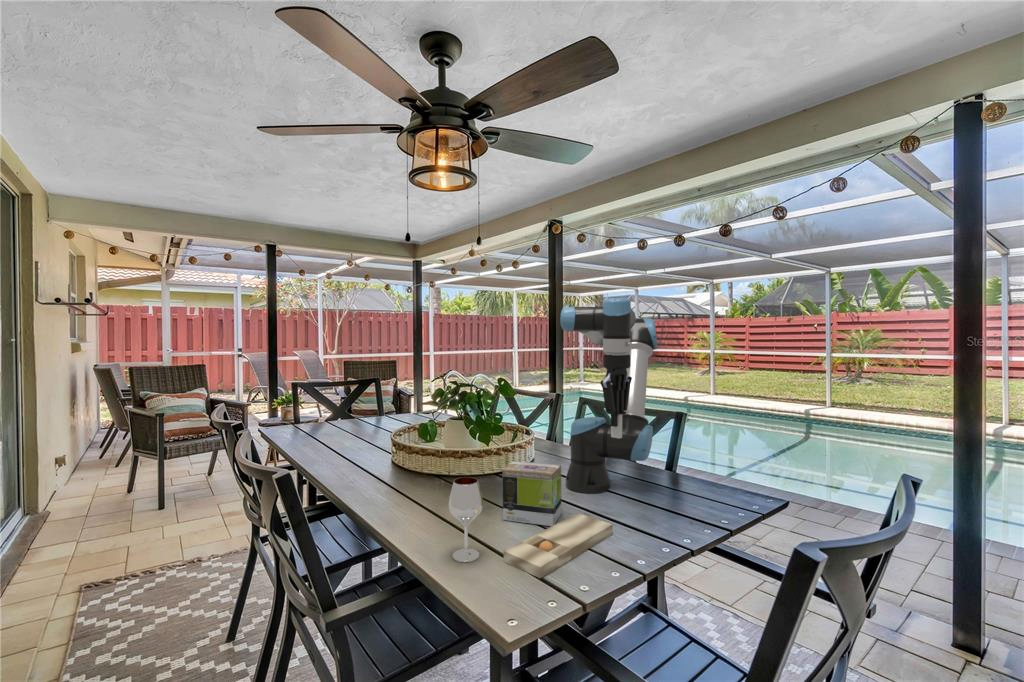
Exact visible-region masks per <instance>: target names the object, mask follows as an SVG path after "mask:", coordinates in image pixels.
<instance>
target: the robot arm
mask: <svg viewBox="0 0 1024 682" xmlns="http://www.w3.org/2000/svg"><path fill="white" fill-rule="evenodd" d="M602 305H603V306H602ZM602 305H601V306H573V305H572V306H566V307H565V306H564V307H563V308H562V310H561V312H560V319H559V322H560V327H561V329H562V330H563V331H565V332H578V333H580V334H582V335H584V336H585V337H587V338H588V340H589V341H590V342H591V343H593V344H595V345H598V346H601V347H602V352H603V355H602V366H603V368H605V369H606V373H605V379H602V380H600V386H601V388H602V393H603V395H602V396H603V400H604V401H603V402H604V408H605V413H606V414H607V415H610V422H607V420H606V418H605V417H603V416H602V417H600V416H587V417H581V418H578V419H575V420H573V422H572V423H571V425H570V433H569V434H570V435H569V436H570V464H569V467H568V470H567V474H566V476H565V487H566V488H567V489H569V490H571V491H573V492H577V493H581V494H600V493H604V492H607V491H609V490H610V489H611V478H610V476H609V472H608V469H607V465H606V459H613V460H615V459H616V460H625V461H631V462H644V461H646V460H647V459H648V457H649V456H650V454H651V453H650V452H651V449H652V443H653V434H654V428H653V426H652V425H650V422H649V420H648V419H647V417H646V416H645V413H646V399H647V384H648V383H647V382H648V381H647V380H648V368H649V367H648V365H649V358H650V357H651V356H653V354H654V351H655V350H657V349H658V341H657V332H656V331H657V330H656V328H657V327H656V323H655V320H654V319H653V318H651V317H650V318H647V317H646V318H645V317H641V318H637V317H636V313H635V311H634V310H633V309H632V306H631V305H632V303H631V299H630V298H625V297H623V298H622V297H620V298H619V297H616V298H615V297H614V298H612V297H611V298H605V299H604V301H603V304H602Z"/></svg>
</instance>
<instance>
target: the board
mask: <svg viewBox="0 0 1024 682" xmlns="http://www.w3.org/2000/svg"><path fill="white" fill-rule="evenodd" d="M612 534H613V524H612V523H609V522H606V521H602V520H600V519H597V518H594V517H590V516H587V515H586V514H585V515H584V514H581V513H575V514H573V515H572V516H569V517H568V518H565V519H563V520H561V521H560V522H556V523H555V525H553V526H548V528H545V529H543V530H542V531H540V532H537V533H536V534H534V535H532V536H530V537H528V538H526V539H524V540H521V541H520V542H518V543H517V544H514V545H513V546H510V547H508V548H506V549H505V550H503V562H504V563H506V564H508V565H510V566H512V567H515V568H517V569H519V570H521V571H523V572H525V573H527V574H529V575H531V576H534V577H537V578H538V579H542V578H543V577H545V576H547V575H549V574H550V573H551V572H553V571H555V570H556V569H557V568H560V567H562V566H563V565H565V564H566V563H567V562H569V561H570V560H572V559H575V558H576V557H578V556H579V555H581V554H582V553H584V552H585V551H587V550H588V549H591V548H592V547H593V546H596V544H598V543H600V542H601V541H602V540H605V539H607V538H608V537H609V536H611V535H612ZM543 541H549V542H550V543H551V544H552V545H553V548H554V549H553V550H551V551H549V552H547V551H544V550H542V549H539V546H540V544H541V543H542V542H543Z"/></svg>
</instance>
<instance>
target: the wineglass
mask: <svg viewBox="0 0 1024 682" xmlns="http://www.w3.org/2000/svg"><path fill="white" fill-rule="evenodd" d="M480 486H481V485H480V483H479V479H477V478H475V477H471V476H464V477H463V476H462V477H458V478H456V479H454V480H453V483H452V487H451V490H450V494H449V498H448V499H449V500H448V511H449V512H450V513H451V515H452V516H453V517H454V518H455V519H457V521H459V522H460V523H461V524H462V525H463V527H464V531H463V532H464V538H463V539H464V542H463V543H464V544H463V545H464V548H461V549H458V550H455V551H454V552H453V553H452V559H454V561H455V562H460V563H470V562H473V561H476V560H477V559H479V558H480V552H479V551H478V550H476V549H475V548H469V541H468V539H469V537H468V536H469V535H468V533H469V532H468V531H469V528H468V527H469V525H470V523H471V522H473V520H475V519H476V518H477V517H478V516H479V515H480V514H481V512H482V510H483V507H484V498H483V493H482V490H481V487H480Z"/></svg>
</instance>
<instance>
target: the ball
mask: <svg viewBox="0 0 1024 682" xmlns="http://www.w3.org/2000/svg"><path fill="white" fill-rule="evenodd" d="M539 549H542V550H544V551H547V552H549V551H551V550H553V549H554V548H553V545H552V544H551V543H550V542H549V541H543V542H542V543H541V544H540V546H539Z"/></svg>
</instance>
